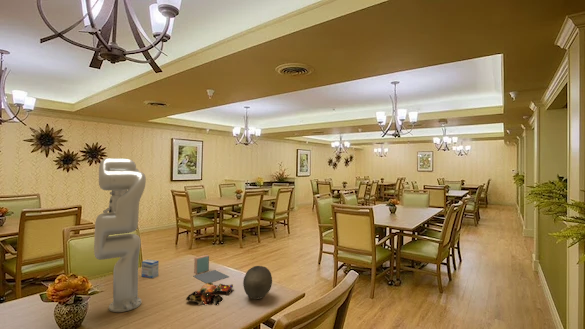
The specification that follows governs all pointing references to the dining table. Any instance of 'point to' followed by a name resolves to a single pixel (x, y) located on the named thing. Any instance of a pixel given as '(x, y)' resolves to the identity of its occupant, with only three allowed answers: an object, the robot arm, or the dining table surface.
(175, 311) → the dining table surface
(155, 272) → the medicine box
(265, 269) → the dark round vase
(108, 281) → the dining table surface
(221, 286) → the food
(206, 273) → the mat
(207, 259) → the tile
